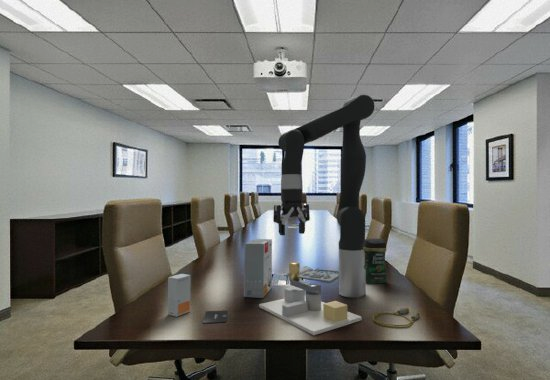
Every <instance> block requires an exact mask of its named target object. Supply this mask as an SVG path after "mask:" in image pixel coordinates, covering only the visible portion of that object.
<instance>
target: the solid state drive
mask: <svg viewBox="0 0 550 380" xmlns="http://www.w3.org/2000/svg"><path fill="white" fill-rule="evenodd" d="M228 312H229V311H228V310H206V311H205V314H204V316H203V320H202V324H203V325H204V324H205V325H206V324H207V325H208V324H225V323H227V319H228Z"/></svg>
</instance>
